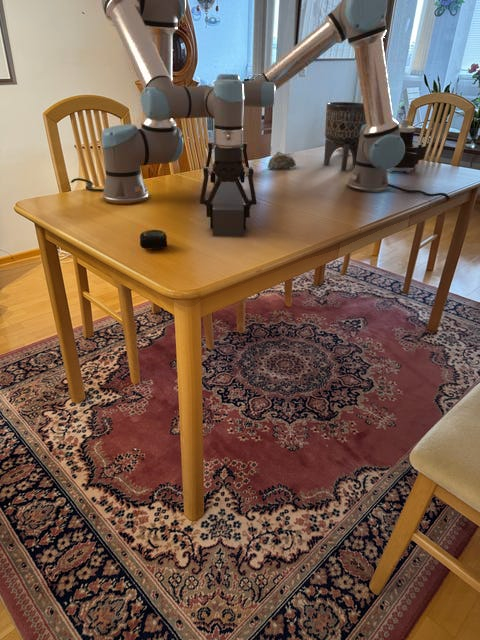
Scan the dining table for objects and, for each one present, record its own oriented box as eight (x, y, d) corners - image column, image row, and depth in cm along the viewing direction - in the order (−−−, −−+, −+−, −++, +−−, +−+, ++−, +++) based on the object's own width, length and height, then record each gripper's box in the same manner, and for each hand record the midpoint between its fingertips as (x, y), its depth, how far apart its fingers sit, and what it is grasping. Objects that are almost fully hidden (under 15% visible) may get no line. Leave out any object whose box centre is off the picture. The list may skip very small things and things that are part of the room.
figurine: (357, 153, 242) (361, 127, 235) (346, 157, 231) (349, 130, 224) (343, 151, 245) (346, 126, 239) (331, 155, 235) (334, 129, 228)
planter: (313, 167, 208) (319, 103, 195) (331, 160, 222) (338, 101, 209) (353, 173, 199) (362, 107, 185) (369, 166, 213) (379, 104, 199)
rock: (286, 164, 212) (287, 149, 208) (299, 167, 206) (301, 152, 203) (265, 168, 204) (266, 153, 201) (279, 171, 199) (280, 156, 195)
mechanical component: (372, 119, 196) (401, 114, 216) (364, 169, 206) (392, 160, 226) (421, 124, 184) (447, 118, 203) (410, 177, 194) (436, 167, 214)
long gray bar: (216, 188, 171) (215, 168, 168) (238, 189, 172) (238, 169, 168) (212, 236, 127) (212, 209, 123) (243, 236, 127) (244, 210, 123)
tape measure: (140, 252, 115) (139, 238, 113) (141, 242, 120) (140, 229, 119) (167, 251, 116) (166, 237, 114) (167, 241, 121) (166, 228, 120)
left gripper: (187, 147, 116) (190, 232, 128) (270, 148, 117) (265, 232, 128) (189, 142, 123) (191, 223, 134) (267, 143, 123) (263, 224, 135)
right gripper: (195, 126, 152) (197, 194, 163) (259, 127, 152) (257, 194, 164) (196, 123, 158) (198, 188, 169) (258, 124, 159) (255, 189, 170)
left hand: (228, 227), depth 131 cm, fingers closed on long gray bar, 9 cm apart
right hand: (227, 191), depth 167 cm, fingers closed on long gray bar, 9 cm apart
